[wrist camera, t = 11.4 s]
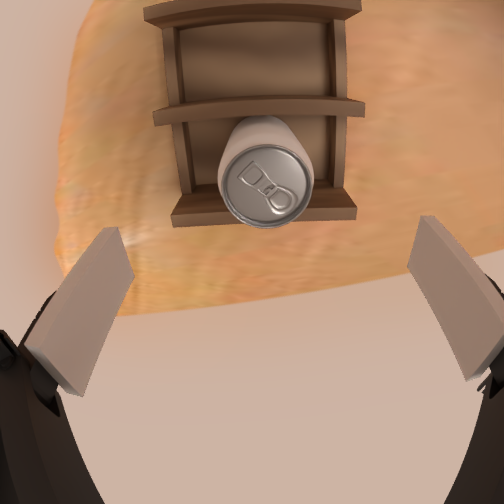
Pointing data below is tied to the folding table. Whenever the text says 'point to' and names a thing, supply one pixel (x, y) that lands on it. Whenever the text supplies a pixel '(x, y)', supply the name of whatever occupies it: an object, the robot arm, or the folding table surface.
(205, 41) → the rack
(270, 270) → the folding table surface
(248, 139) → the can
